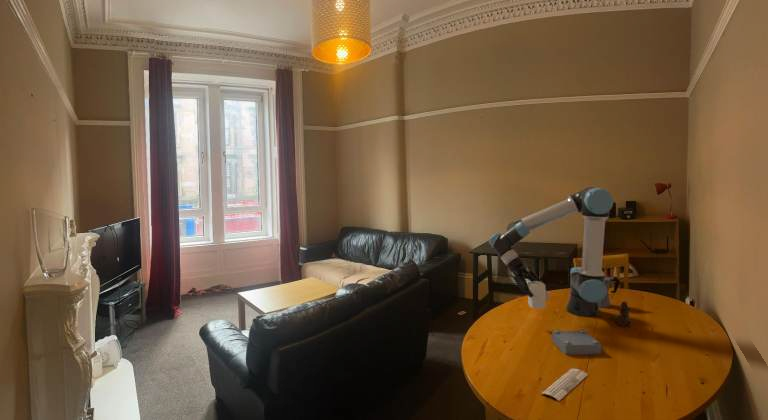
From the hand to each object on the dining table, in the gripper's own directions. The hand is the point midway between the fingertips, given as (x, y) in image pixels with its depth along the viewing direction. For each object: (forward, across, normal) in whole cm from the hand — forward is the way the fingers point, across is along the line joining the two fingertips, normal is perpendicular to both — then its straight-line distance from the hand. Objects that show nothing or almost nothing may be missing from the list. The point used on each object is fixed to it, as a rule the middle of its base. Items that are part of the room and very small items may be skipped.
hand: (543, 300), depth 187 cm
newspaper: (+33, +39, +12) cm, 53 cm away
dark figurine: (+25, -34, +4) cm, 43 cm away
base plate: (+23, +8, +3) cm, 25 cm away
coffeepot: (+13, -53, -8) cm, 55 cm away
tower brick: (0, 0, -5) cm, 5 cm away
